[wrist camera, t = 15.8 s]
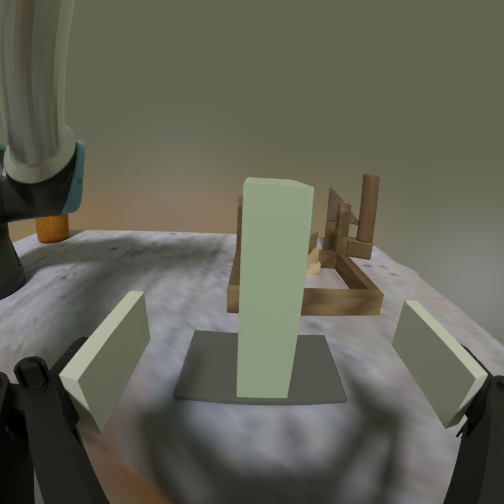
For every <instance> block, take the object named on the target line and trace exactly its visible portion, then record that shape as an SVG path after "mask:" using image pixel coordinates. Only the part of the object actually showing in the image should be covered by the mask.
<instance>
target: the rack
mask: <svg viewBox="0 0 504 504" xmlns="http://www.w3.org/2000/svg"><path fill="white" fill-rule="evenodd" d="M242 211H243V197H242V196H239V197H238V219H237V248H236V253H235V257H234V262H233V266H232V271H231V275H230V280H229V285H228V289H227V312H231V313H239V293H240V263H241V236H242ZM350 213H351V205H350V204H345V203H338V206H337V216H336V226H335V235H334V243H333V250H319V256H318V261H319V262H320V263H321V266H320V268H333V269H336V270H337V272H338V273H339V274H340V276H341V277H342V278H343V280H344V281H345V283H346V284H347V285H348V287H349V288H350V289H318V288H304V292H303V300H302V308H301V315H379V312H380V308H381V304H382V300H383V296H384V294H383V293H382V292H381V291H380V290H379V289H378V287H377V286H376V285H375V284H374V283H373V282H372V281H371V280H370V279H369V278H368V277H367V276H366V275H365V273H364V272H363V271H362V270H361V269H360V268H359V267H358V266H357V265H356V264H355V263H354V262H353V261H352V260H351V259H350V258H349V257H348V256H347V255H346V246H347V239H348V231H349V222H350Z"/></svg>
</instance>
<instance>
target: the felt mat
mask: <svg viewBox="0 0 504 504" xmlns="http://www.w3.org/2000/svg"><path fill="white" fill-rule="evenodd" d="M237 361H238V333H226V332H211V331H199V330H195V332H194V335H193V338H192V341H191V344H190V347H189V350H188V353H187V356H186V359H185V362H184V365H183V368H182V371H181V374H180V377H179V380H178V383H177V386H176V389H175V392H174V398H179V399H187V400H195V401H205V402H215V403H229V404H247V405H312V404H330V403H343V402H346V401H347V397H346V394H345V391H344V388H343V385H342V382H341V380H340V377H339V374H338V371H337V368H336V366H335V363H334V360H333V357H332V355H331V352H330V349H329V347H328V344H327V341H326V338H325V336H324V335H298V336H297V342H296V349H295V355H294V361H293V367H292V373H291V379H290V384H289V390H288V396H287V398H251V397H237Z"/></svg>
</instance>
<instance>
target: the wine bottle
mask: <svg viewBox="0 0 504 504" xmlns="http://www.w3.org/2000/svg"><path fill="white" fill-rule="evenodd" d="M35 221H36V230H37V236H38V240H39V241H40V242H42V243H53V242H58V241H61V240H64V239H66V238H67V237H68V235H69V224H68V214H63V215H62V216H50V217H41V218H35Z"/></svg>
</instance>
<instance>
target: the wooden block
mask: <svg viewBox="0 0 504 504" xmlns="http://www.w3.org/2000/svg"><path fill="white" fill-rule="evenodd" d="M378 190H379V177H378V176H375V175H367V174H365V175H363V185H362V197H361V206H360V215H359V221H358V220H357V218H356V217H355V216H354V214H353V213H352V212H351V213H350V222H349V223H350V224H356V225H358V232H357V238H353V237H348V239H347V246H346V255H347V256H352V257H359V258H365V259H370V258H371V252H372V246H373V241H372V239H373V232H374V224H375V216H376V209H377V200H378ZM338 203H344V202H343V200H342V199H341V198H340V196H339V195H338V194H337V193H336V191H335V190H334V189H333V188H330V189H329V201H328V212H327V222H326V231H325V240H324V248H323V250H333V243H334V235H335V226H336V216H337V206H338Z"/></svg>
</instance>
